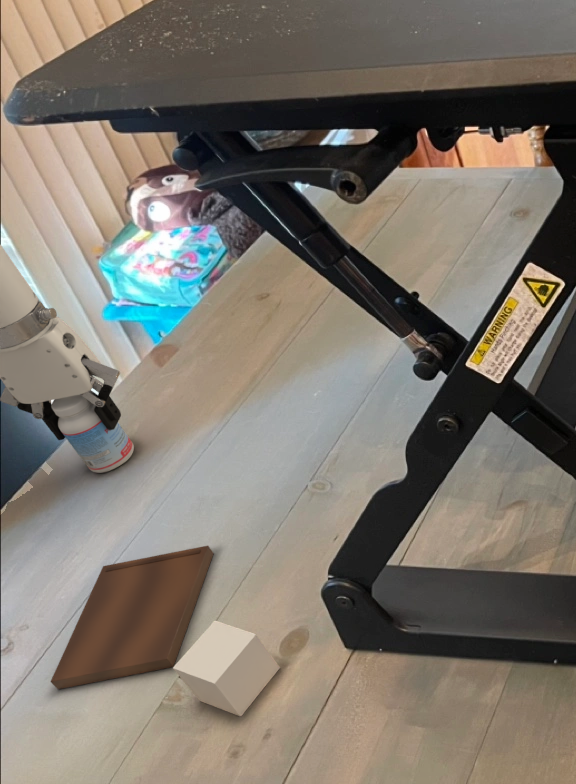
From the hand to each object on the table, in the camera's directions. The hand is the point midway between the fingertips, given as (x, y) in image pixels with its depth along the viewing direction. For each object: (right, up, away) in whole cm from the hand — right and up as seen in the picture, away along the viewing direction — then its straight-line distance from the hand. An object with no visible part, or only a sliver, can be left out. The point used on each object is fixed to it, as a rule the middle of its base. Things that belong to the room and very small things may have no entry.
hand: (90, 427), depth 142 cm
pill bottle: (+1, -5, +4) cm, 6 cm away
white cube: (+34, -24, -30) cm, 51 cm away
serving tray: (+18, -20, -20) cm, 34 cm away
